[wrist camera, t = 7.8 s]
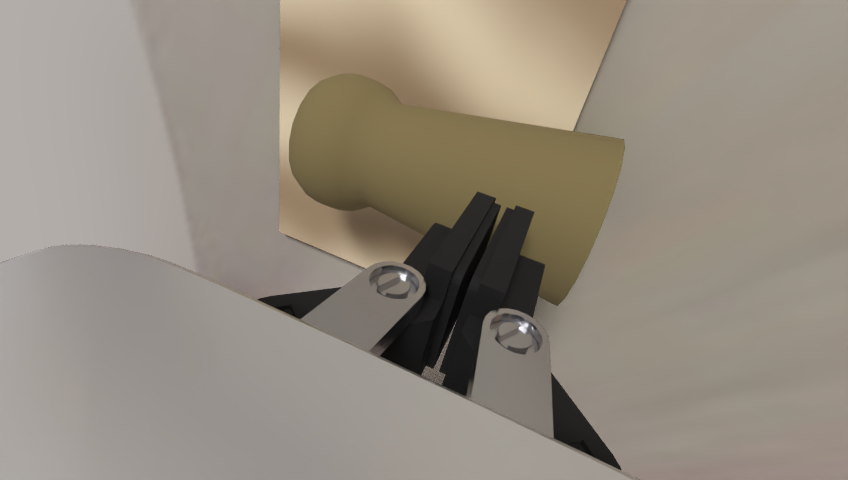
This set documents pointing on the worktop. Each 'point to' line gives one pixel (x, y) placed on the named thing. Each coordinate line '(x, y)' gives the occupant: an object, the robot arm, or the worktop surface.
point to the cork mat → (433, 82)
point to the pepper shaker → (454, 169)
